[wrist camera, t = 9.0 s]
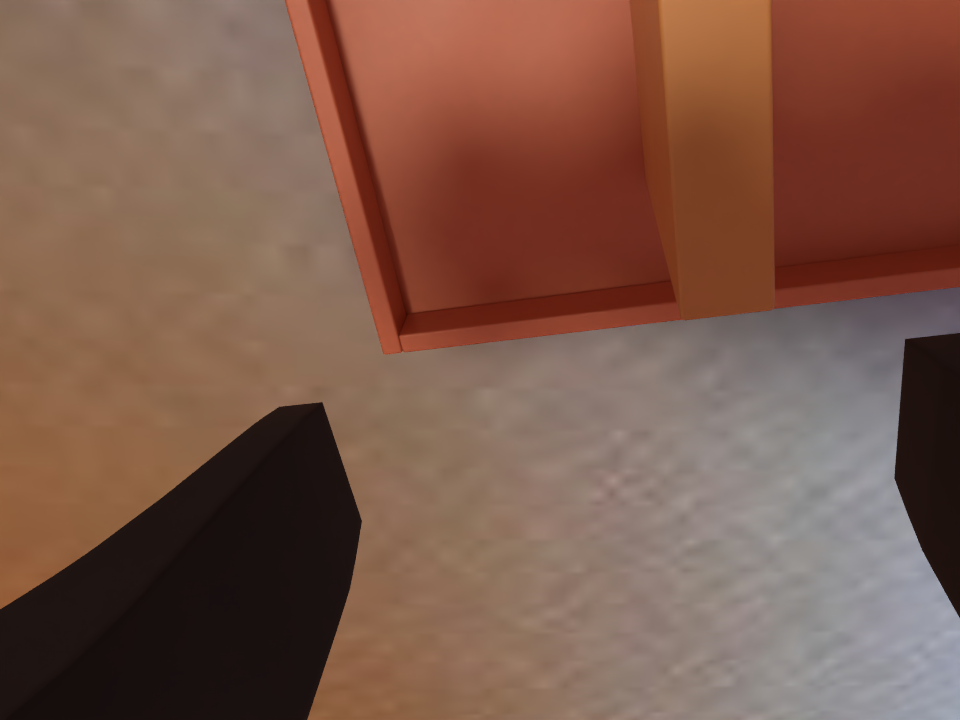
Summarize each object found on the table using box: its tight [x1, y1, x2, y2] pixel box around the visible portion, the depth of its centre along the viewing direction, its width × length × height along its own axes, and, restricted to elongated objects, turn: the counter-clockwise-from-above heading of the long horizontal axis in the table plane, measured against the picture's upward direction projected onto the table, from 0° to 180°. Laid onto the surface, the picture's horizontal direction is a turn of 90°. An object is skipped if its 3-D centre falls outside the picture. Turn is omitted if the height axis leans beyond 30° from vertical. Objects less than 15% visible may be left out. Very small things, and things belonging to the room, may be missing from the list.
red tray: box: [285, 0, 960, 354], centre depth 17 cm, size 15×12×2 cm
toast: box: [630, 0, 775, 320], centre depth 14 cm, size 1×6×7 cm, turn 11°
